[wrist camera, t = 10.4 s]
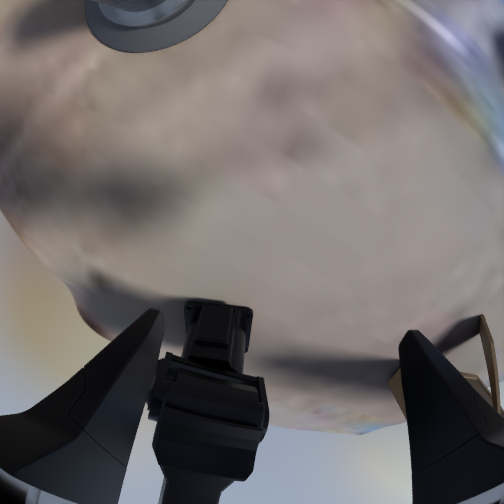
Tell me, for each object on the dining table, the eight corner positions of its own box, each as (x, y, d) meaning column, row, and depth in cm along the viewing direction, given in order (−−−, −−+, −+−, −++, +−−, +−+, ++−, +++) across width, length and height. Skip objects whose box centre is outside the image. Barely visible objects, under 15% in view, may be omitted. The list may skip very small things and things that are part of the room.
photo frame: (460, 389, 38) (491, 503, 17) (385, 377, 34) (414, 546, 13) (519, 335, 30) (569, 455, 9) (464, 302, 26) (541, 496, 5)
